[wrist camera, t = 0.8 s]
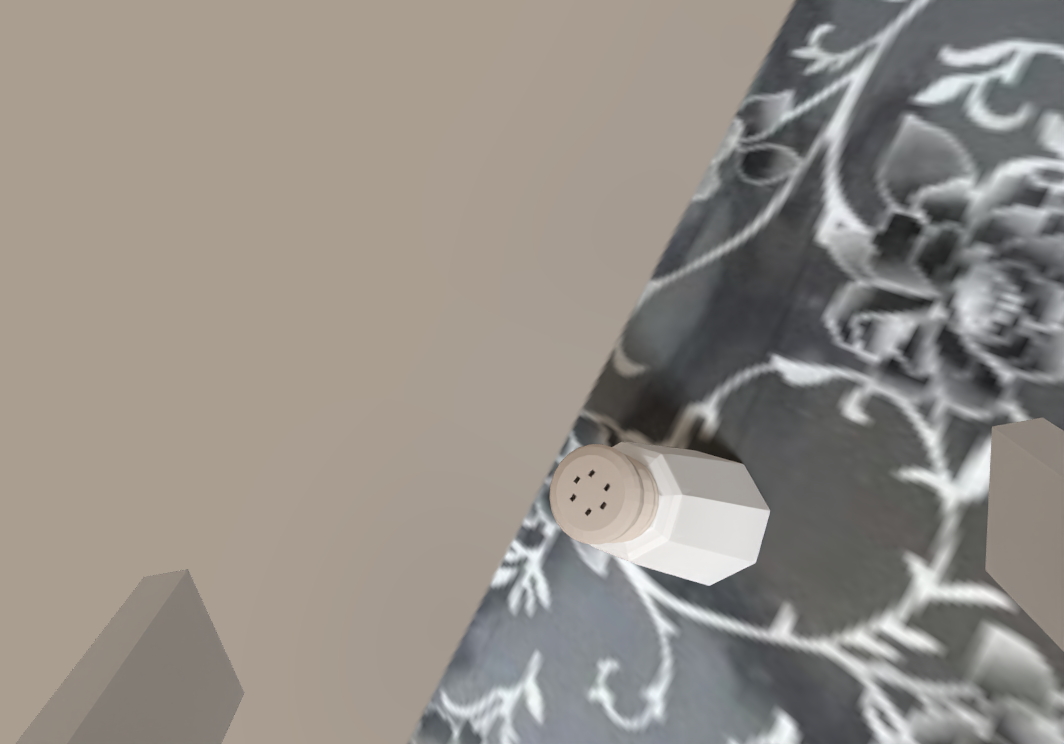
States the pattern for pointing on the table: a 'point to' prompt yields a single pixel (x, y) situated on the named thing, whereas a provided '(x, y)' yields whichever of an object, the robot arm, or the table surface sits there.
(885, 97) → the table surface
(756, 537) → the pepper shaker
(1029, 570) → the robot arm
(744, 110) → the table surface
